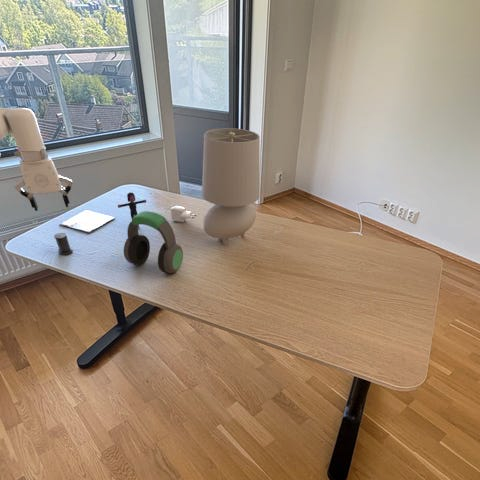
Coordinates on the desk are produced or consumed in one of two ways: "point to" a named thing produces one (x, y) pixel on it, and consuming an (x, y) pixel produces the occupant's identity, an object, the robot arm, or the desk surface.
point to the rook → (63, 244)
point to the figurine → (132, 204)
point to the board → (87, 221)
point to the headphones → (140, 246)
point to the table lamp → (230, 181)
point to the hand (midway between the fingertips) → (52, 207)
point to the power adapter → (180, 214)
